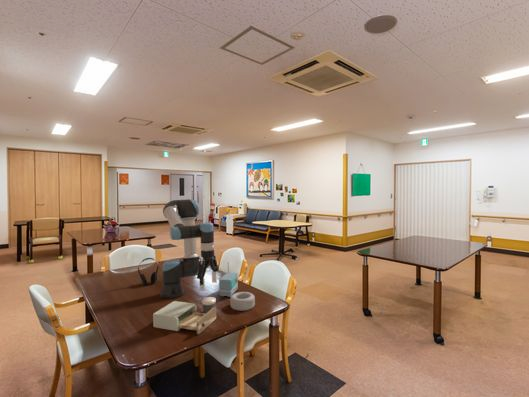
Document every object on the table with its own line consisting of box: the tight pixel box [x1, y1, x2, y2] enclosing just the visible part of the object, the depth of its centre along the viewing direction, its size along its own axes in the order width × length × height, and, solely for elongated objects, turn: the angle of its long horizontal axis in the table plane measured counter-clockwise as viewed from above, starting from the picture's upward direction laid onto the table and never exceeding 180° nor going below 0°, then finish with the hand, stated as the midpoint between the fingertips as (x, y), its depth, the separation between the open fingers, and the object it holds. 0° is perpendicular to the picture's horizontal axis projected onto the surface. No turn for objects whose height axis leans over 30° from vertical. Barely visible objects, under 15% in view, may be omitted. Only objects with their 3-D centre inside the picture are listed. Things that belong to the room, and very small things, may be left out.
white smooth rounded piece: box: [201, 296, 217, 306], centre depth 168 cm, size 8×8×2 cm
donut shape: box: [229, 291, 256, 312], centre depth 176 cm, size 15×15×7 cm
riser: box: [202, 303, 216, 314], centre depth 168 cm, size 5×5×6 cm
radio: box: [218, 261, 239, 298], centre depth 197 cm, size 16×9×20 cm, turn 168°
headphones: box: [137, 257, 159, 286], centre depth 220 cm, size 9×15×20 cm, turn 123°
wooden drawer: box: [179, 306, 217, 335], centre depth 153 cm, size 16×18×6 cm
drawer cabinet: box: [152, 300, 198, 332], centre depth 157 cm, size 15×18×7 cm
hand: (208, 286), depth 167 cm, fingers open, 13 cm apart
